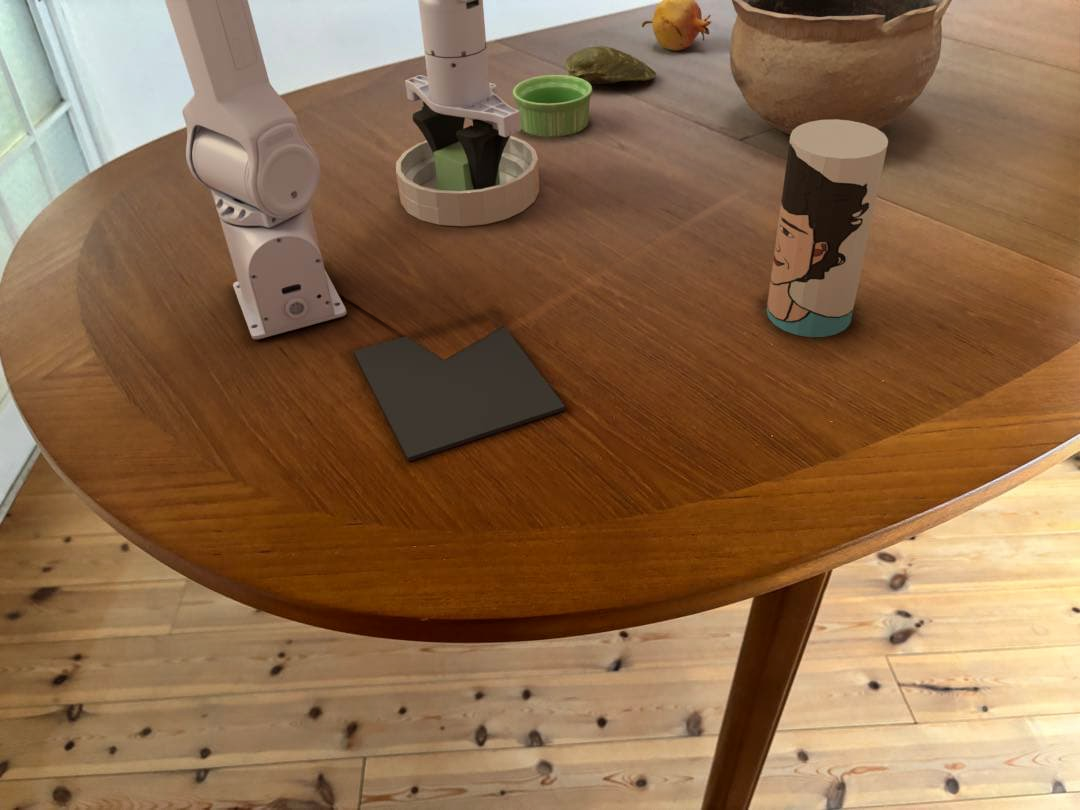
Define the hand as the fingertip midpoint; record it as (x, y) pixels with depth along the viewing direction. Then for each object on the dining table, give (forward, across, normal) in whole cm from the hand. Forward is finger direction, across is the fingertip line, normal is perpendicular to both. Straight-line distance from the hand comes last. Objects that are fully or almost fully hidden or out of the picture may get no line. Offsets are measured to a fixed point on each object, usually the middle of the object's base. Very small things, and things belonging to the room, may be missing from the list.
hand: (469, 184), depth 92 cm
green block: (+1, 0, 0) cm, 1 cm away
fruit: (+2, +12, -48) cm, 50 cm away
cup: (+2, -37, -5) cm, 37 cm away
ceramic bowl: (+2, -17, -38) cm, 41 cm away
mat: (+1, -22, +21) cm, 30 cm away
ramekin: (+2, +6, -18) cm, 19 cm away
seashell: (+2, +10, -33) cm, 34 cm away
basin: (+1, 0, 0) cm, 1 cm away
